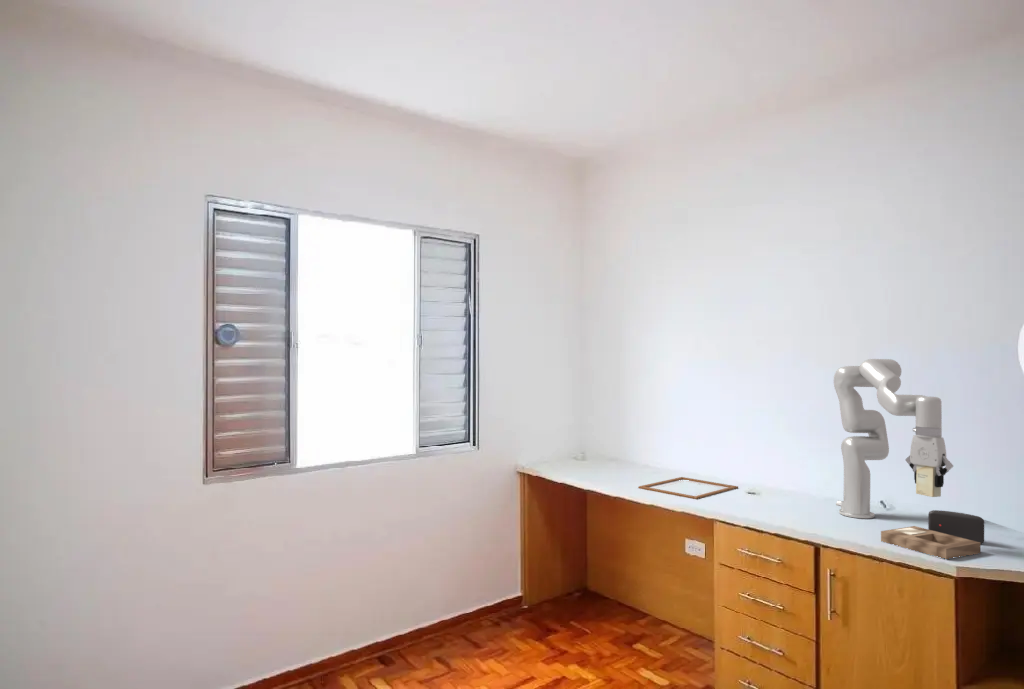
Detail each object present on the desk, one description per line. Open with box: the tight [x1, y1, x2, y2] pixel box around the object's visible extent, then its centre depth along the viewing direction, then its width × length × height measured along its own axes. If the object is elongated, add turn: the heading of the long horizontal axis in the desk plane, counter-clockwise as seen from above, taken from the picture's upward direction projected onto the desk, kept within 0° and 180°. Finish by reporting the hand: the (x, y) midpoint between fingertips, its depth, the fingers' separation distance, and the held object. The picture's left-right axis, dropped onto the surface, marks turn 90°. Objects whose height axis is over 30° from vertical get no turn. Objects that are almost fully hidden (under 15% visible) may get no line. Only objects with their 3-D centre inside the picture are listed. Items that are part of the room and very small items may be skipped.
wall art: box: [637, 476, 739, 500], centre depth 312 cm, size 31×2×38 cm
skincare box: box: [915, 465, 942, 498], centre depth 224 cm, size 6×4×12 cm
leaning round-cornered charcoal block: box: [927, 509, 985, 545], centre depth 230 cm, size 16×5×9 cm, turn 50°
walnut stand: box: [880, 525, 982, 560], centre depth 220 cm, size 22×18×4 cm
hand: (928, 484), depth 224 cm, fingers closed on skincare box, 6 cm apart
